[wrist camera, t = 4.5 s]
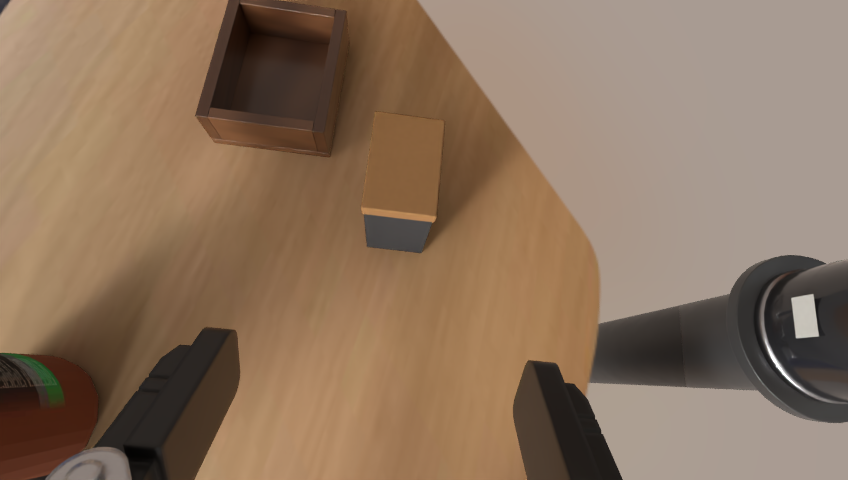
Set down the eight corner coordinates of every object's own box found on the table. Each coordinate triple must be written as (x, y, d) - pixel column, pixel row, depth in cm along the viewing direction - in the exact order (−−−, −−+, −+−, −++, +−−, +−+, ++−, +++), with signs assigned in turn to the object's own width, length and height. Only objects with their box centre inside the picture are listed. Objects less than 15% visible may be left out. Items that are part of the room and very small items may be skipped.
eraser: (430, 177, 33) (445, 119, 26) (423, 254, 31) (437, 216, 24) (375, 170, 33) (375, 110, 25) (365, 248, 31) (360, 207, 24)
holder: (349, 44, 36) (346, 10, 33) (329, 157, 33) (324, 132, 30) (244, 29, 36) (230, -8, 32) (214, 142, 32) (194, 115, 29)
